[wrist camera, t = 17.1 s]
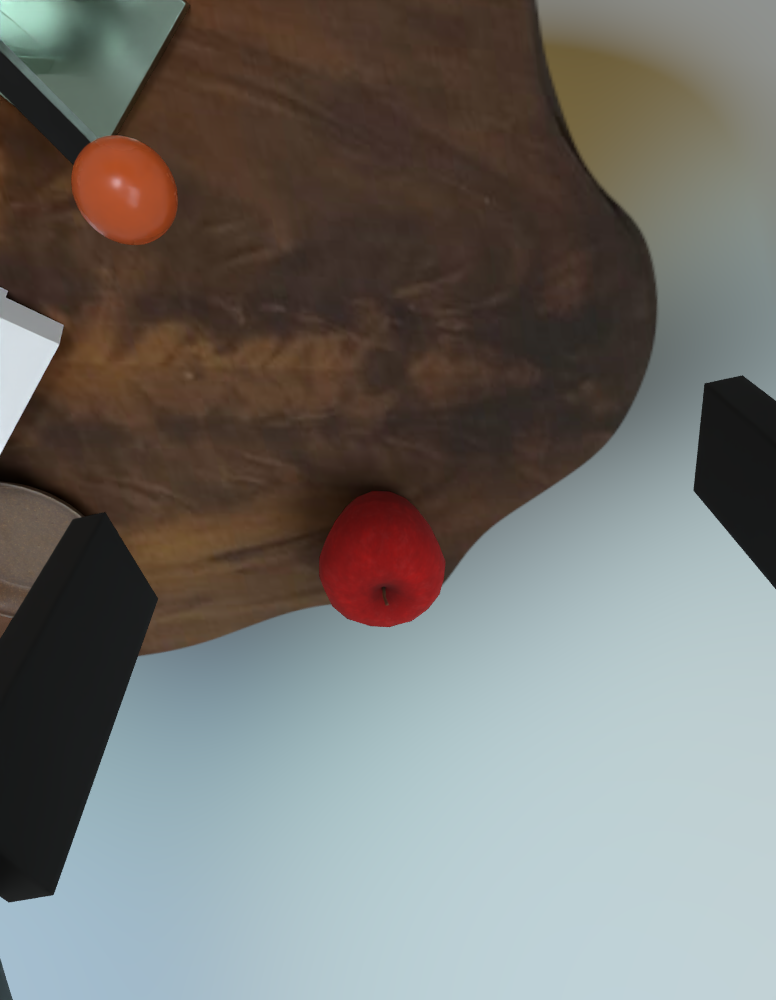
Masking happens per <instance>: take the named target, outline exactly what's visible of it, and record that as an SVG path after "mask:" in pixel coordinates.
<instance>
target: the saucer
mask: <svg viewBox="0 0 776 1000" xmlns="http://www.w3.org/2000/svg"><path fill="white" fill-rule="evenodd" d="M80 517H84V516H83V515H82V514H81V513H80V512H79V511H78V510H76V509H75V508H74V507H72V506H71V505H70V504H68V503H66V502H65V501H63V500H61V499H59V498H58V497H56V496H54V495H52V494H49V493H47V492H45V491H42V490H39V489H36V488H33V487H30V486H26V485H22V484H17V483H10V482H1V481H0V615H1V616H6V617H10V618H13V617H14V615H15V614H16V612H17V610H18V609H19V607H20V605H21V604H22V602H23V600H24V599H25V597H26V595H27V594H28V592H29V591H30V589H31V587H32V586H33V584H34V582H35V581H36V579H37V577H38V576H39V574H40V572H41V571H42V569H43V567H44V566H45V564H46V562H47V561H48V559H49V558H50V556H51V554H52V553H53V551H54V549H55V548H56V546H57V544H58V543H59V541H60V539H61V538H62V536H63V534H64V533H65V531H66V529H67V528H68V526H69V525H70V523H71V521H72V520H73V519H76V518H80Z"/></svg>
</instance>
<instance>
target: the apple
mask: <svg viewBox="0 0 776 1000" xmlns="http://www.w3.org/2000/svg"><path fill="white" fill-rule="evenodd" d="M444 570H445V559H444V557H443V554H442V551H441V549H440V546H439V543H438V541H437V539H436V537H435V535H434V533H433V531H432V529H431V527H430V525H429V524H428V523H427V521H426V520H425V519H424V517H423V516H422V515H421V514H420V512H419V511H418V510H417V508H416V507H415V506H414V505H412V504H411V503H410V502H409V501H408V500H407V499H406V498H404V497H402V496H399V495H397V494H395V493H392V492H389V491H371V492H369V493H366V494H364V495H361V496H358V497H356V498H355V499H354V500H353V501H352V502H351V503H350V504H349V505H347V506H346V507H345V508H344V510H343V511H342V513H341V514H340V515H339V517H338V518H337V519H336V521H335V523H334V524H333V526H332V528H331V530H330V532H329V534H328V536H327V538H326V541H325V544H324V546H323V549H322V552H321V554H320V557H319V577H320V579H321V582H322V585H323V587H324V590H325V592H326V594H327V596H328V598H329V600H330V602H331V604H332V606H333V607H334V608H335V609H336V610H337V611H339V612H340V613H341V614H342V615H343V616H345V617H346V618H347V619H350V620H353V621H356V622H359V623H363V624H366V625H369V626H378V627H391V626H395V625H398V624H402V623H405V622H410V621H412V620H414V619H415V618H416V617H418V616H419V615H420V614H422V613H423V612H425V611H426V610H427V609H428V608H429V607H430V606H431V604H432V603H433V602H434V601H435V599H436V598H437V597H438V595H439V594H440V590H441V586H442V582H443V579H444Z"/></svg>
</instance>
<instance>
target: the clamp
mask: <svg viewBox="0 0 776 1000" xmlns="http://www.w3.org/2000/svg"><path fill="white" fill-rule="evenodd" d="M189 8H190V4H189V3H188V2H187V1H186V0H0V39H1V40H2V41H3V42H4V44H5V45H6V46H7V47H8V48H9V49H10V50H11V51H12V52H13V53H14V54H15V55H16V56H17V57H18V58H19V59H20V60H21V61H22V62H23V63H24V64H25V65H26V66H27V67H28V68H29V69H30V70H31V71H32V72H33V73H34V74H35V75H36V76H37V77H38V78H39V79H40V80H41V81H42V82H43V83H44V84H45V85H46V86H47V87H48V88H49V89H50V90H51V91H52V92H53V93H54V94H55V95H56V96H57V97H58V98H59V99H60V100H61V101H62V102H63V103H64V104H65V105H66V106H67V107H68V108H69V109H70V110H71V111H72V112H73V113H74V114H75V115H76V116H77V117H78V118H79V119H80V120H81V121H82V122H83V123H84V124H85V125H86V126H87V127H88V128H89V129H90V130H91V131H92V132H93V133H94V134H95V135H96V137H97V138H101V137H104V136H113V135H117V134H118V132H119V130H120V128H121V127H122V125H123V123H124V121H125V120H126V118H127V116H128V114H129V113H130V111H131V109H132V108H133V106H134V104H135V102H136V101H137V99H138V97H139V95H140V94H141V92H142V90H143V88H144V87H145V85H146V83H147V81H148V80H149V78H150V76H151V74H152V73H153V71H154V69H155V67H156V66H157V64H158V62H159V60H160V59H161V57H162V55H163V53H164V52H165V50H166V48H167V46H168V45H169V43H170V41H171V39H172V38H173V36H174V34H175V32H176V31H177V29H178V27H179V25H180V24H181V22H182V20H183V18H184V17H185V15H186V13H187V11H188V10H189ZM0 95H1V96H2V97H4V98H5V99H6V100H7V101H9V100H8V99H7V98H6V97H5V96H4V95H3V94H2V93H1V92H0ZM9 102H10V101H9ZM10 103H11V102H10ZM11 104H12V103H11ZM12 105H13V104H12Z"/></svg>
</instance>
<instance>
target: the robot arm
mask: <svg viewBox="0 0 776 1000" xmlns="http://www.w3.org/2000/svg"><path fill="white" fill-rule="evenodd" d="M694 492H695V493H696V494H697V495H698V496H699V498H700V499H701V500H702V501H703V502H704V504H705V505H706V506H707V507H708V508H709V509H710V511H711V512H712V513H713V514H714V516H715V517H716V518H717V519H718V520H719V521H720V523H721V524H722V525H723V526H724V527H725V529H726V530H727V531H728V532H729V534H730V535H731V536H732V537H733V538H734V540H735V541H736V542H737V543H738V544H739V546H740V547H741V548H742V549H743V550H744V551H745V553H746V554H747V555H748V556H749V558H750V559H751V560H752V561H753V562H754V563H755V565H756V566H757V567H758V568H759V569H760V571H761V572H762V573H763V574H764V576H765V577H766V578H767V579H768V580H769V581H770V583H771V584H772V585H773V586H774V587H775V589H776V401H775V400H774V399H773V398H771V397H770V396H768V395H767V394H766V393H765V392H763V391H762V390H761V389H759V388H758V387H757V386H756V385H754V384H753V383H752V382H750V381H749V380H748V379H746V378H745V377H744V376H738V377H733V378H729V379H724V380H719V381H714V382H710V383H705V385H704V394H703V404H702V415H701V423H700V434H699V443H698V454H697V463H696V472H695V482H694ZM157 600H158V598H157V596H156V595H155V593H154V591H153V590H152V588H151V586H150V585H149V583H148V581H147V580H146V578H145V577H144V575H143V573H142V572H141V570H140V568H139V567H138V565H137V563H136V562H135V560H134V559H133V557H132V555H131V554H130V552H129V550H128V549H127V547H126V545H125V544H124V542H123V541H122V539H121V537H120V536H119V534H118V532H117V531H116V529H115V528H114V526H113V524H112V523H111V521H110V519H109V518H108V516H107V514H106V513H105V512H104V513H99V514H94V515H90V516H85V517H80V518H76V519H73V520H72V521H71V523H70V525H69V526H68V528H67V529H66V531H65V533H64V534H63V536H62V538H61V539H60V541H59V543H58V544H57V546H56V548H55V549H54V551H53V553H52V554H51V556H50V558H49V559H48V561H47V562H46V564H45V566H44V567H43V569H42V571H41V572H40V574H39V576H38V577H37V579H36V581H35V582H34V584H33V586H32V587H31V589H30V591H29V592H28V594H27V595H26V597H25V599H24V600H23V602H22V604H21V605H20V607H19V609H18V610H17V612H16V614H15V615H14V617H13V619H12V620H11V622H10V623H9V625H8V627H7V628H6V630H5V632H4V633H3V635H2V637H1V638H0V897H2V898H3V899H5V900H6V901H8V902H15V901H21V900H26V899H32V898H38V897H45V896H51V895H54V892H55V889H56V887H57V884H58V881H59V878H60V875H61V872H62V869H63V867H64V864H65V861H66V858H67V855H68V853H69V850H70V847H71V844H72V841H73V838H74V836H75V833H76V830H77V827H78V824H79V821H80V818H81V816H82V813H83V810H84V807H85V804H86V801H87V799H88V796H89V793H90V790H91V787H92V785H93V782H94V779H95V776H96V773H97V770H98V767H99V765H100V762H101V759H102V756H103V753H104V750H105V748H106V745H107V742H108V739H109V736H110V733H111V731H112V728H113V725H114V722H115V719H116V716H117V713H118V710H119V708H120V705H121V702H122V700H123V696H124V694H125V691H126V688H127V685H128V682H129V680H130V677H131V674H132V671H133V668H134V665H135V663H136V660H137V657H138V654H139V651H140V649H141V646H142V643H143V640H144V637H145V634H146V632H147V629H148V626H149V623H150V620H151V617H152V615H153V612H154V609H155V606H156V603H157ZM0 1000H13V999H12V996H11V993H10V990H9V987H8V983H7V980H6V976H5V973H4V970H3V967H2V963H1V960H0Z"/></svg>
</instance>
